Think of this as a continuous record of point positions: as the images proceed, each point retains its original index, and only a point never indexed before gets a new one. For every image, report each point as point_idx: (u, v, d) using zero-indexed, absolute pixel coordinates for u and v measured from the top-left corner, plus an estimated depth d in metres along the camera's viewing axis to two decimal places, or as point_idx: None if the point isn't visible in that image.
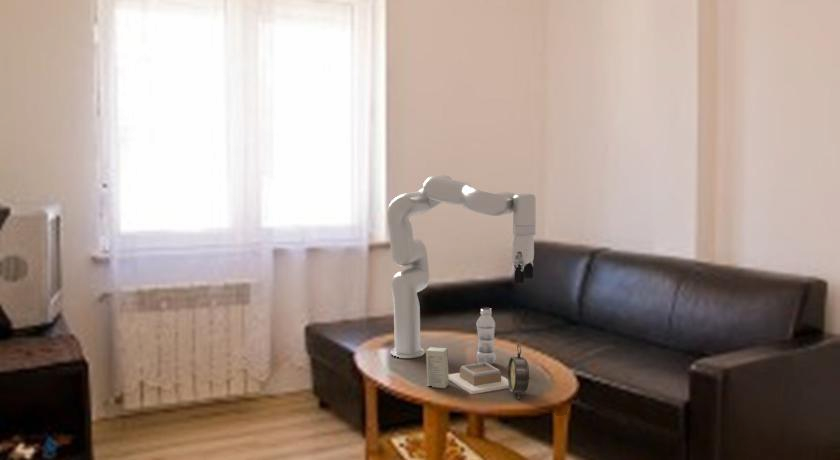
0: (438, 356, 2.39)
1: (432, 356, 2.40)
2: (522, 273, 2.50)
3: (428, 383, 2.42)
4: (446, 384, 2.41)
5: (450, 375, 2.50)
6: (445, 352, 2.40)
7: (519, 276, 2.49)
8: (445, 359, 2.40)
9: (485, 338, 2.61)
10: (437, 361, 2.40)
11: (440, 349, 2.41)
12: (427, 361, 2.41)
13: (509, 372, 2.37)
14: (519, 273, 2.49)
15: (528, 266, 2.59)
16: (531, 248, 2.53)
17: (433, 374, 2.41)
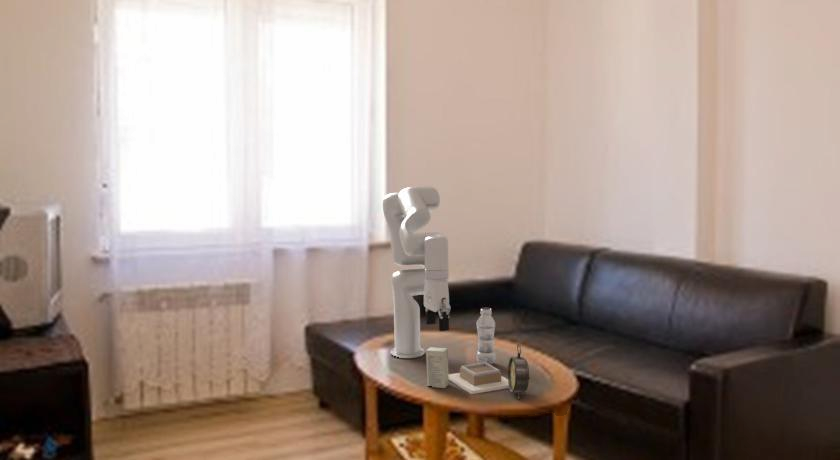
0: (438, 356, 2.39)
1: (432, 356, 2.40)
2: (447, 320, 2.36)
3: (428, 383, 2.42)
4: (446, 384, 2.41)
5: (450, 375, 2.50)
6: (445, 352, 2.40)
7: (446, 323, 2.35)
8: (445, 359, 2.40)
9: (485, 338, 2.61)
10: (437, 361, 2.40)
11: (440, 349, 2.41)
12: (427, 361, 2.41)
13: (509, 372, 2.37)
14: (446, 320, 2.35)
15: (431, 312, 2.44)
16: None
17: (433, 374, 2.41)
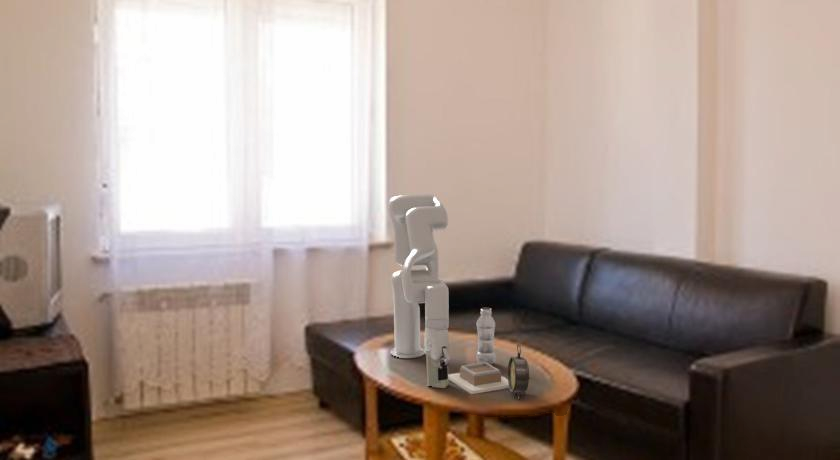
0: None
1: None
2: (446, 369, 2.39)
3: (428, 383, 2.42)
4: (446, 384, 2.41)
5: (450, 375, 2.50)
6: None
7: (445, 373, 2.38)
8: None
9: (485, 338, 2.61)
10: (437, 361, 2.40)
11: None
12: (427, 361, 2.41)
13: (509, 372, 2.37)
14: (444, 370, 2.38)
15: None
16: None
17: (433, 373, 2.41)
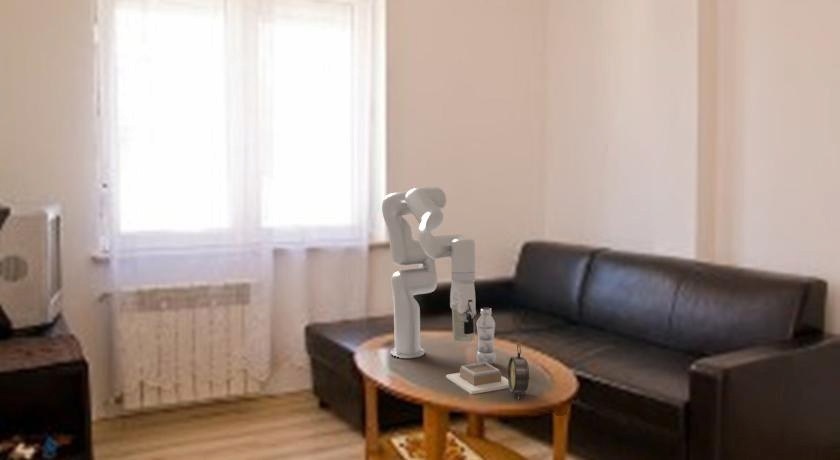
0: None
1: None
2: (472, 323, 2.39)
3: (454, 337, 2.42)
4: (472, 338, 2.41)
5: (450, 375, 2.50)
6: None
7: (471, 327, 2.38)
8: None
9: (485, 338, 2.61)
10: (463, 315, 2.40)
11: None
12: (453, 315, 2.41)
13: (509, 372, 2.37)
14: (471, 323, 2.38)
15: None
16: None
17: (459, 328, 2.41)
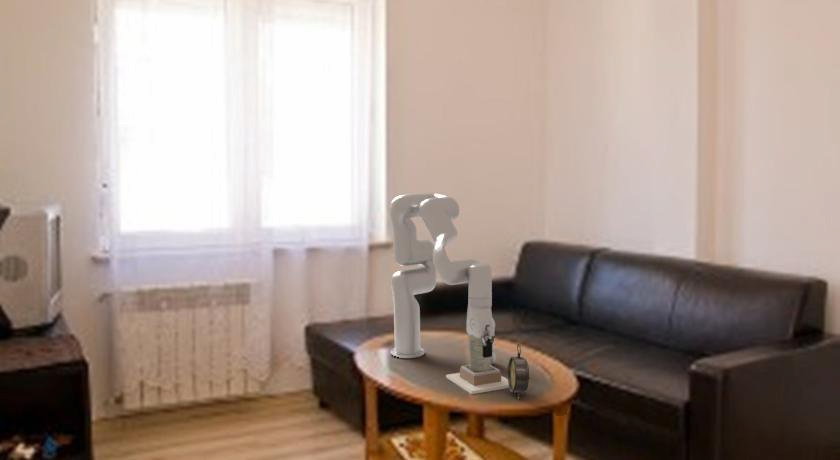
0: (481, 341, 2.42)
1: (475, 340, 2.43)
2: (490, 346, 2.40)
3: (470, 367, 2.45)
4: (488, 368, 2.44)
5: (450, 375, 2.50)
6: None
7: (489, 350, 2.39)
8: None
9: None
10: (479, 345, 2.43)
11: None
12: (469, 346, 2.44)
13: (509, 372, 2.37)
14: (489, 347, 2.39)
15: None
16: None
17: (475, 358, 2.44)
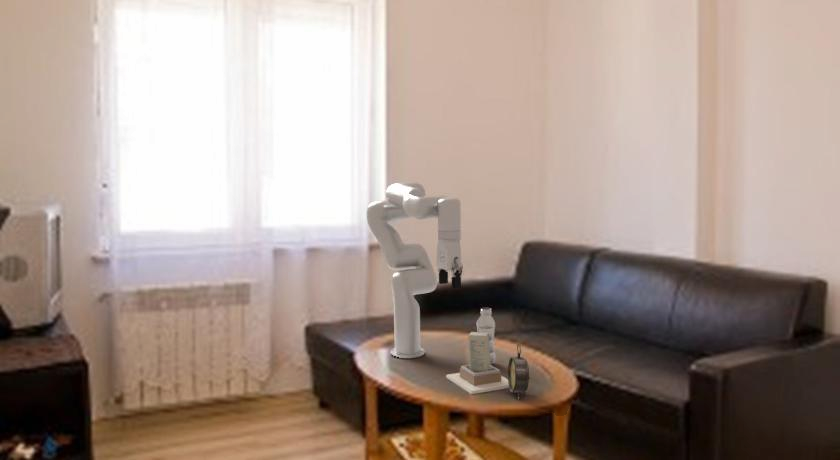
0: (481, 341, 2.42)
1: (475, 340, 2.43)
2: None
3: (470, 367, 2.45)
4: (488, 368, 2.44)
5: (450, 375, 2.50)
6: (487, 336, 2.43)
7: (458, 282, 2.46)
8: (487, 343, 2.43)
9: None
10: (479, 345, 2.43)
11: (482, 333, 2.44)
12: (469, 346, 2.44)
13: (509, 372, 2.37)
14: (458, 279, 2.46)
15: (444, 272, 2.55)
16: None
17: (475, 358, 2.44)
